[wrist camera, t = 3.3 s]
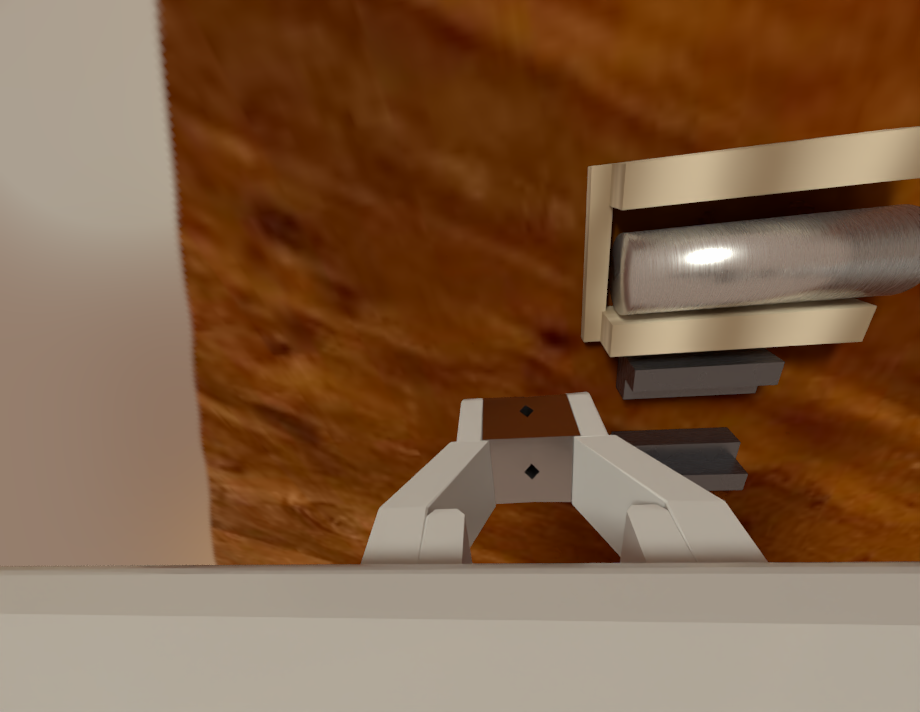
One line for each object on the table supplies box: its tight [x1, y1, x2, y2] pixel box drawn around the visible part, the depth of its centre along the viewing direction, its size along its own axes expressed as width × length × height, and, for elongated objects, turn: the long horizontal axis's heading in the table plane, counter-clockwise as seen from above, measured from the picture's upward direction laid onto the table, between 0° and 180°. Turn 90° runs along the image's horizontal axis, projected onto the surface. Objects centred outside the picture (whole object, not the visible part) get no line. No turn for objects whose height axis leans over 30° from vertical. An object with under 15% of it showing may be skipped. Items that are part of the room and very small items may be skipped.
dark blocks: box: [611, 348, 785, 491], centre depth 24 cm, size 8×10×3 cm
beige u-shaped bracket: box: [581, 126, 920, 357], centre depth 19 cm, size 14×10×3 cm
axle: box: [609, 204, 920, 315], centre depth 19 cm, size 13×4×4 cm, turn 96°
